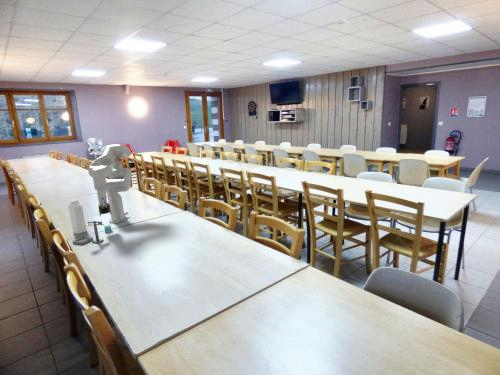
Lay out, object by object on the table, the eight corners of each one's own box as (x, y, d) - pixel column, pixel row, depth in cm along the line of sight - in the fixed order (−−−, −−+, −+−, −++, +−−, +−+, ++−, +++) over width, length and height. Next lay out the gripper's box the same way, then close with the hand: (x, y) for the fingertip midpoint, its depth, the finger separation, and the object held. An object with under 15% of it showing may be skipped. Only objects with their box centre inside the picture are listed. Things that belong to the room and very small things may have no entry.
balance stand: (92, 242, 190) (89, 224, 188) (97, 240, 194) (94, 222, 191) (98, 243, 189) (95, 225, 186) (103, 240, 192) (100, 223, 190)
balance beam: (82, 225, 183) (82, 221, 183) (100, 224, 195) (100, 220, 196) (88, 225, 181) (88, 221, 182) (105, 225, 194) (105, 221, 194)
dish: (83, 238, 198) (83, 236, 198) (93, 239, 195) (92, 237, 195) (73, 243, 191) (72, 241, 190) (82, 244, 188) (82, 242, 188)
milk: (73, 232, 210) (66, 202, 205) (81, 229, 216) (75, 199, 211) (79, 233, 208) (72, 202, 203) (87, 230, 213) (81, 200, 208)
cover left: (100, 214, 208) (98, 204, 207) (111, 212, 211) (109, 202, 210) (100, 216, 202) (98, 206, 201) (111, 214, 205) (109, 204, 204)
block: (105, 231, 211) (104, 225, 210) (111, 229, 212) (110, 224, 211) (105, 232, 207) (104, 227, 206) (111, 231, 209) (110, 226, 208)
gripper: (94, 184, 209) (99, 209, 213) (94, 190, 194) (99, 216, 198) (106, 183, 212) (110, 207, 216) (107, 188, 197) (111, 214, 201)
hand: (105, 211), depth 207 cm, fingers closed on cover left, 6 cm apart
